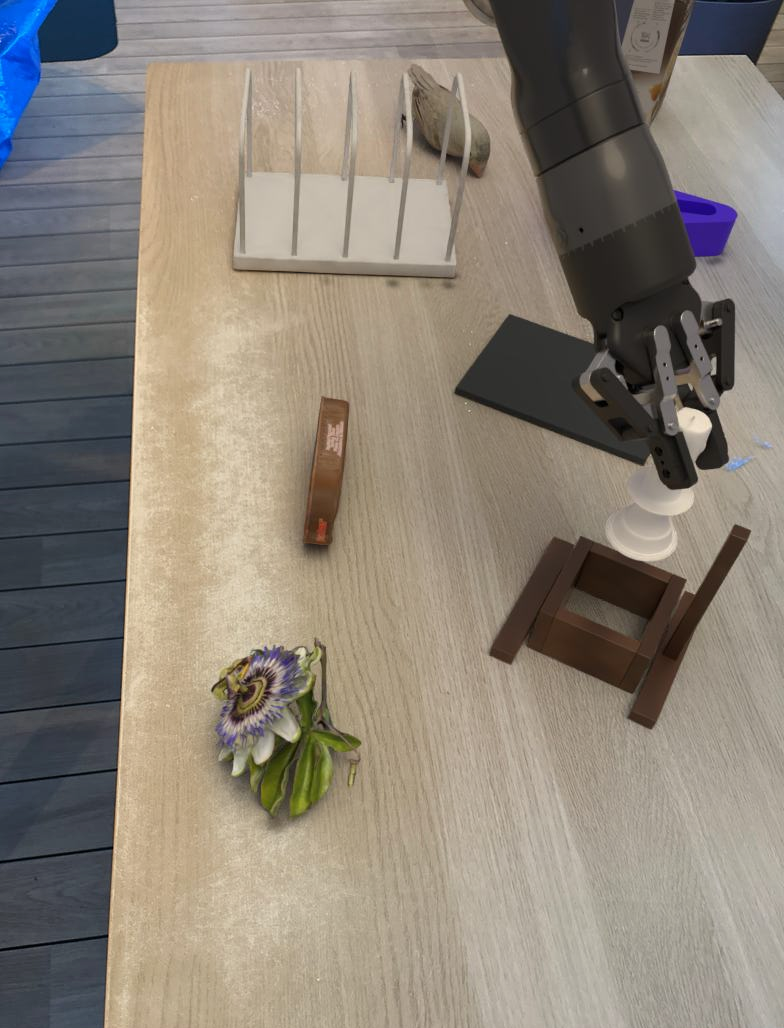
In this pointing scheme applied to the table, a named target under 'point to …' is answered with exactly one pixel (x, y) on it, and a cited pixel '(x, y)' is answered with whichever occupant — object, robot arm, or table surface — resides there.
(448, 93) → the decorative bird
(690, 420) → the candle
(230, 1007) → the table surface
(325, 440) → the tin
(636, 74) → the coffee box
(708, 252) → the bracket
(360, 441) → the table surface
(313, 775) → the passion flower
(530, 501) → the table surface
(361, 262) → the file sorter
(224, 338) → the table surface
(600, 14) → the robot arm
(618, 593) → the brown wooden stand
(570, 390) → the mat
